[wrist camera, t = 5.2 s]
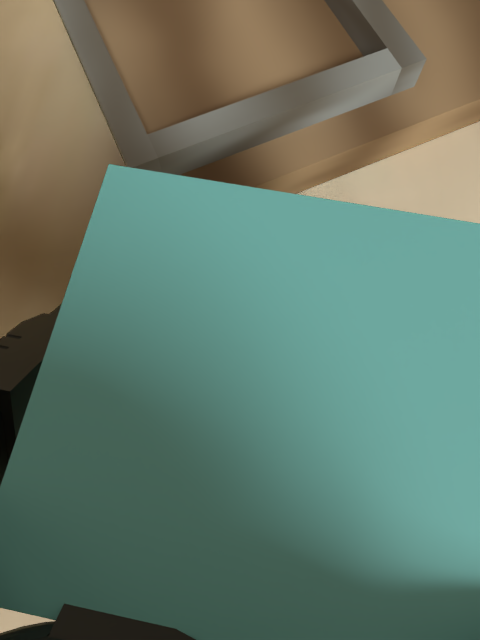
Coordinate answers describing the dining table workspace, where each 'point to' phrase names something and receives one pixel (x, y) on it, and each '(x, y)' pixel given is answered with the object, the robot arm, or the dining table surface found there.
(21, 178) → the dining table surface
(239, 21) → the walnut stand
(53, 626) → the robot arm
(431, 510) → the teal block
